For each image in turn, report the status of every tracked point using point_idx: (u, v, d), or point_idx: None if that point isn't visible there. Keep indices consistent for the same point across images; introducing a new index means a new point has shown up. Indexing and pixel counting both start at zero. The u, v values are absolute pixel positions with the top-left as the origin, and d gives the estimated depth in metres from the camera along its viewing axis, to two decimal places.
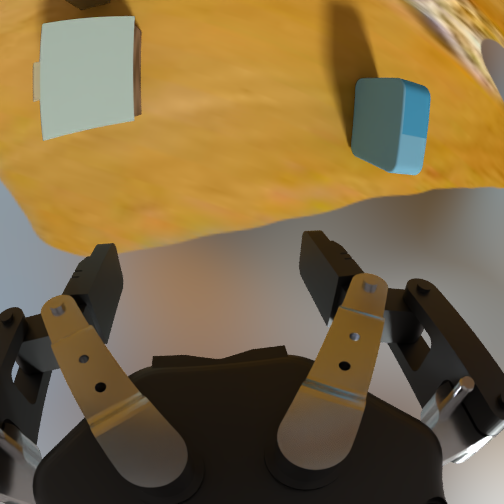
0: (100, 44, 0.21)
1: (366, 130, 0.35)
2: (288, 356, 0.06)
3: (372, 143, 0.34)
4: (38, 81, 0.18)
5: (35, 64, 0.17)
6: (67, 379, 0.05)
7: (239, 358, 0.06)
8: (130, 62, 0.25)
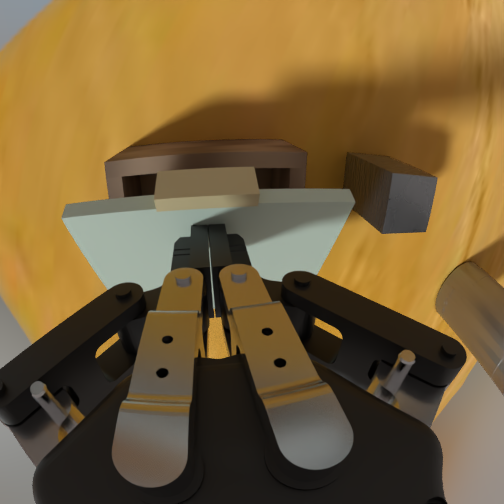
0: None
1: None
2: None
3: None
4: (203, 205, 0.11)
5: (253, 197, 0.11)
6: (140, 349, 0.06)
7: (239, 358, 0.06)
8: None
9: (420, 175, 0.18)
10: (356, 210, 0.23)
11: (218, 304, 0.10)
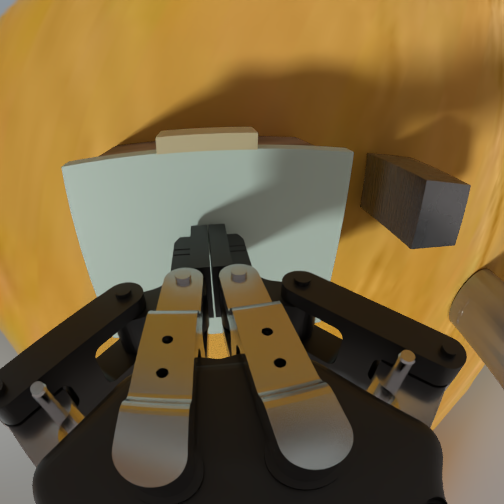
0: (270, 278, 0.15)
1: None
2: None
3: None
4: (203, 146, 0.11)
5: (252, 137, 0.11)
6: (140, 349, 0.06)
7: (239, 358, 0.06)
8: None
9: (453, 182, 0.14)
10: (378, 219, 0.20)
11: (218, 304, 0.10)
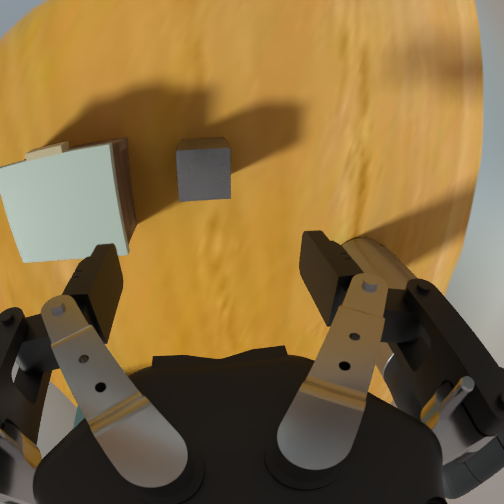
0: (85, 221, 0.23)
1: None
2: (288, 356, 0.06)
3: None
4: (42, 155, 0.19)
5: (59, 147, 0.19)
6: (67, 379, 0.05)
7: (239, 358, 0.06)
8: (73, 256, 0.25)
9: (209, 148, 0.23)
10: None
11: (333, 313, 0.10)
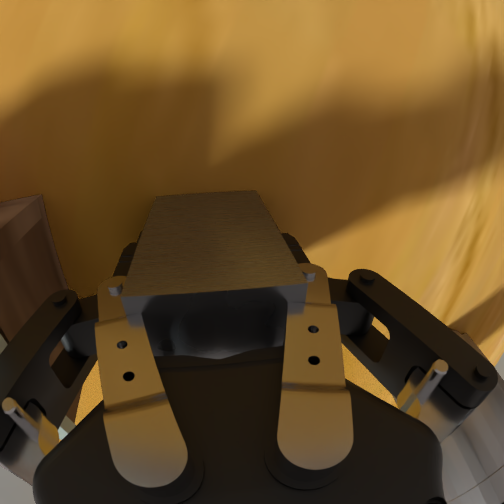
0: None
1: None
2: None
3: None
4: None
5: None
6: (99, 360, 0.05)
7: (239, 358, 0.06)
8: None
9: (236, 285, 0.07)
10: None
11: None
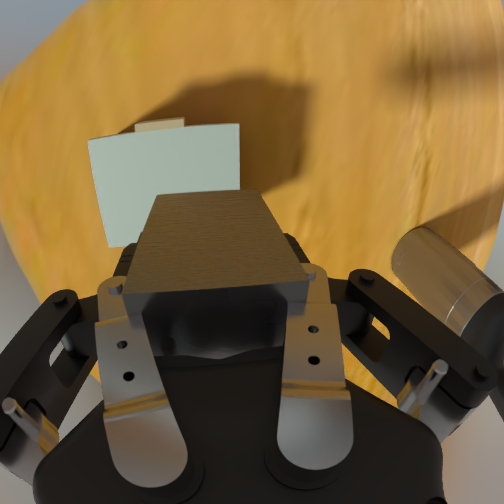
0: None
1: None
2: None
3: None
4: (157, 127, 0.21)
5: (180, 121, 0.21)
6: (99, 360, 0.05)
7: (239, 357, 0.06)
8: None
9: (237, 282, 0.07)
10: None
11: None
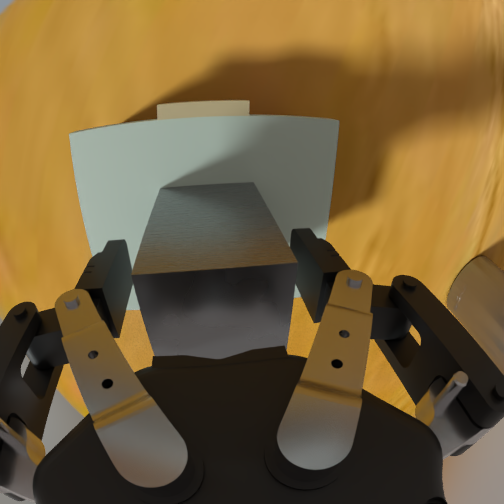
0: None
1: None
2: (288, 356, 0.06)
3: None
4: (200, 113, 0.12)
5: (244, 104, 0.12)
6: (75, 373, 0.05)
7: (239, 357, 0.06)
8: None
9: (233, 264, 0.08)
10: None
11: (319, 310, 0.10)
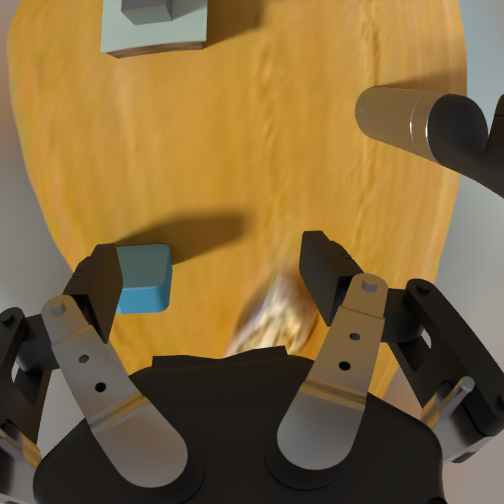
0: (177, 13, 0.24)
1: (119, 258, 0.42)
2: (288, 356, 0.06)
3: None
4: None
5: None
6: (67, 379, 0.05)
7: (239, 357, 0.06)
8: (155, 41, 0.26)
9: None
10: (129, 19, 0.22)
11: (333, 313, 0.10)
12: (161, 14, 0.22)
